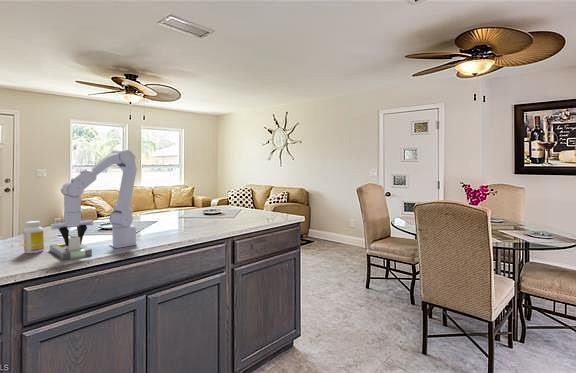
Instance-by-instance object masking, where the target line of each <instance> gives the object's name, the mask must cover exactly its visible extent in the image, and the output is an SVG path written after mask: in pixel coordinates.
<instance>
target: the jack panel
mask: <svg viewBox="0 0 576 373" xmlns="http://www.w3.org/2000/svg"><path fill="white" fill-rule="evenodd" d="M92 250H93V249H91V248H90V247H88V246H86V245H85V244H83V243H81V244H80V250H74V251H67V250H66V245H65V242H62V243H53V244H49V251H50V252H51V253H53V254H54V255H55V256H57V257H58V258H60V259H61V260H63V261H67V260H72V259H77V258H78V259H79V258H84V257H89V256H92V253H93V251H92Z"/></svg>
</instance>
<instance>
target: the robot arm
mask: <svg viewBox="0 0 576 373" xmlns="http://www.w3.org/2000/svg"><path fill="white" fill-rule="evenodd" d="M112 165H116V166H118V168H120V170H122V176H121V182H120V187H119V192H118V198H117V202H116V205H115V206H114V207H113V208H112V211H111V213H110V215H109V217H108V220H109V223H111V225H112V228H111V230H112V243H109V246H110V247H112V248H115V249H118V248H119V249H120V248H124V247H131V246H137V244H138V243H137V230H136V227H135V226H134V225H131V224H132V223H133V220H134V217H133V209H132V208H131V201H132V197H133V191H134V186H135V181H136V176H137V165H136V155H135V154H134V153H133V152H132V150H130V149H114V150H111V152H109V153H107V154H106V155H105V156H104V157H103V158H102V159H101V160H100V161H99V162H98V163H97V164H95V165H94V166H93V167H92V168H91V169H84V170H81V171H80V172H79V174H78V175H77V176H75V177H74V178H71V179H70V181H68V182H64V184H63V185H62V187H61V189H60V192H61V194H62V195H63V208H64V209H63V211H64V212H63V215H64V216H63V217H64V218H63V219H64V222H59V223H52V224H51V223H50V226H51V227H50V229H51V230H52V231H53V230H57V229H58V231H59V233H60V234H61V236H62V237H63V238H62V239H63V241H64V243H65V245H66V246H69V239H68V236H70V235H69V234H70V233H69V232H70V229H69V228H75V227H76V229H77V230H76V231H77V236H79V237H80V244H83V243H82V242H83V238H84V235H85V233H86V232H87V230H88V226H94V220H93V219H89V220H88V219H87V220H82V203H81V201H82V200H81V197H82V196H81V195H83V193H84V191H85V189H87V188H88V187H89V186H91V184H92V183H94V182H96V180H97V177H98V175H100V174H101V173H103V172H104V171H105V170H106V169H108V168H109V167H111V166H112Z"/></svg>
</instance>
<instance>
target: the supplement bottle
mask: <svg viewBox="0 0 576 373" xmlns="http://www.w3.org/2000/svg"><path fill="white" fill-rule="evenodd" d="M25 225H26V227H25V228H24V229H23V232H22V233H23V250H24V253H25V254H37V253H41V252H43V251H44V250H45V241H44V240H45V238H44V228H43V227H42V226H40V225H41V220H30V221H26V222H25Z"/></svg>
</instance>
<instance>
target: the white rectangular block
mask: <svg viewBox="0 0 576 373" xmlns="http://www.w3.org/2000/svg"><path fill="white" fill-rule="evenodd" d="M68 239H69V246H66V250H67V251H74V250H80V237H79V236H78V234H77V235H76V234H71V235H69V236H68Z"/></svg>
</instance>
